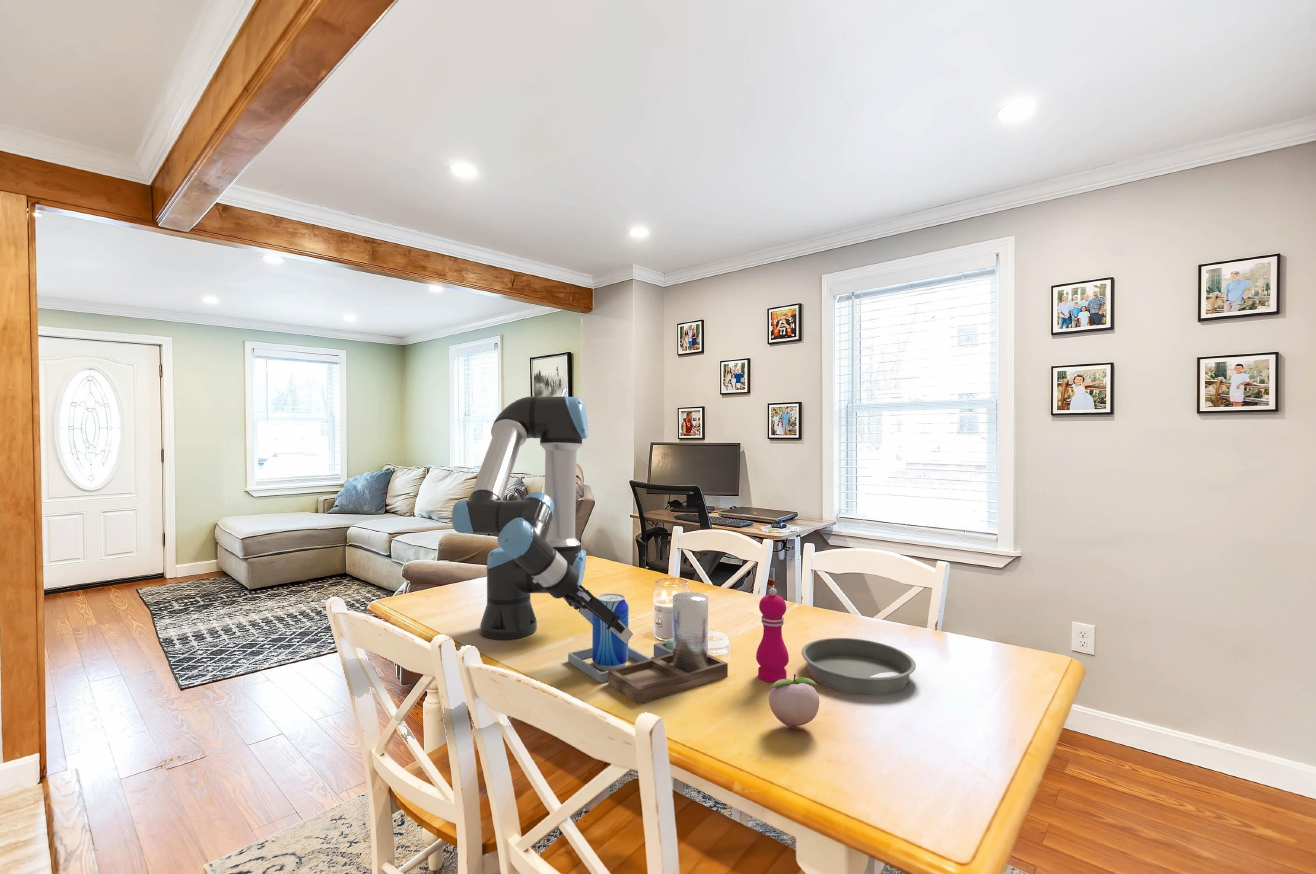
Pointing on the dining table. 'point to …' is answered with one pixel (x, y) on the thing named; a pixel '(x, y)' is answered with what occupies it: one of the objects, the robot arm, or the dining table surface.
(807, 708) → the decorative fruit
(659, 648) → the button housing
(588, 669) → the frame
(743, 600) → the dining table surface
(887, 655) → the cake pan
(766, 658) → the pepper mill
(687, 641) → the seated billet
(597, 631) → the beer can
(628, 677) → the wooden divided tray
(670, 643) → the button
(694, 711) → the dining table surface
